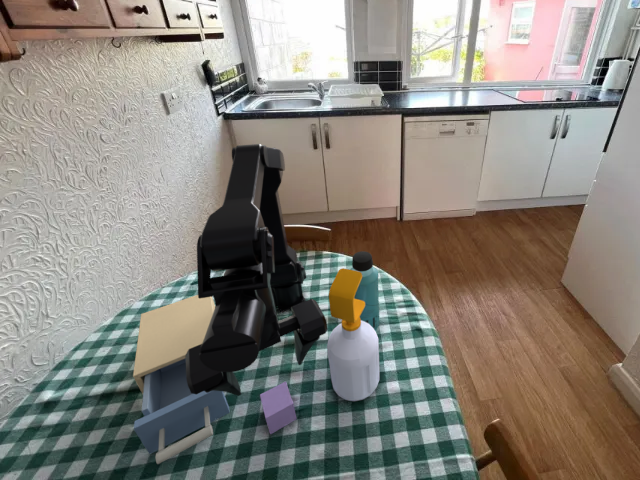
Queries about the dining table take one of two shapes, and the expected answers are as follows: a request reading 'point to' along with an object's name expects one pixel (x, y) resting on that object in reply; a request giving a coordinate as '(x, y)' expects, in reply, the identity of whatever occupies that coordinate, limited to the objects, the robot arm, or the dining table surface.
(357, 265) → the beverage bottle
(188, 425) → the blue drawer
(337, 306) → the spray bottle
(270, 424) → the purple cube
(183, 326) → the drawer cabinet
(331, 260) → the dining table surface
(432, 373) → the dining table surface
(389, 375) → the dining table surface
